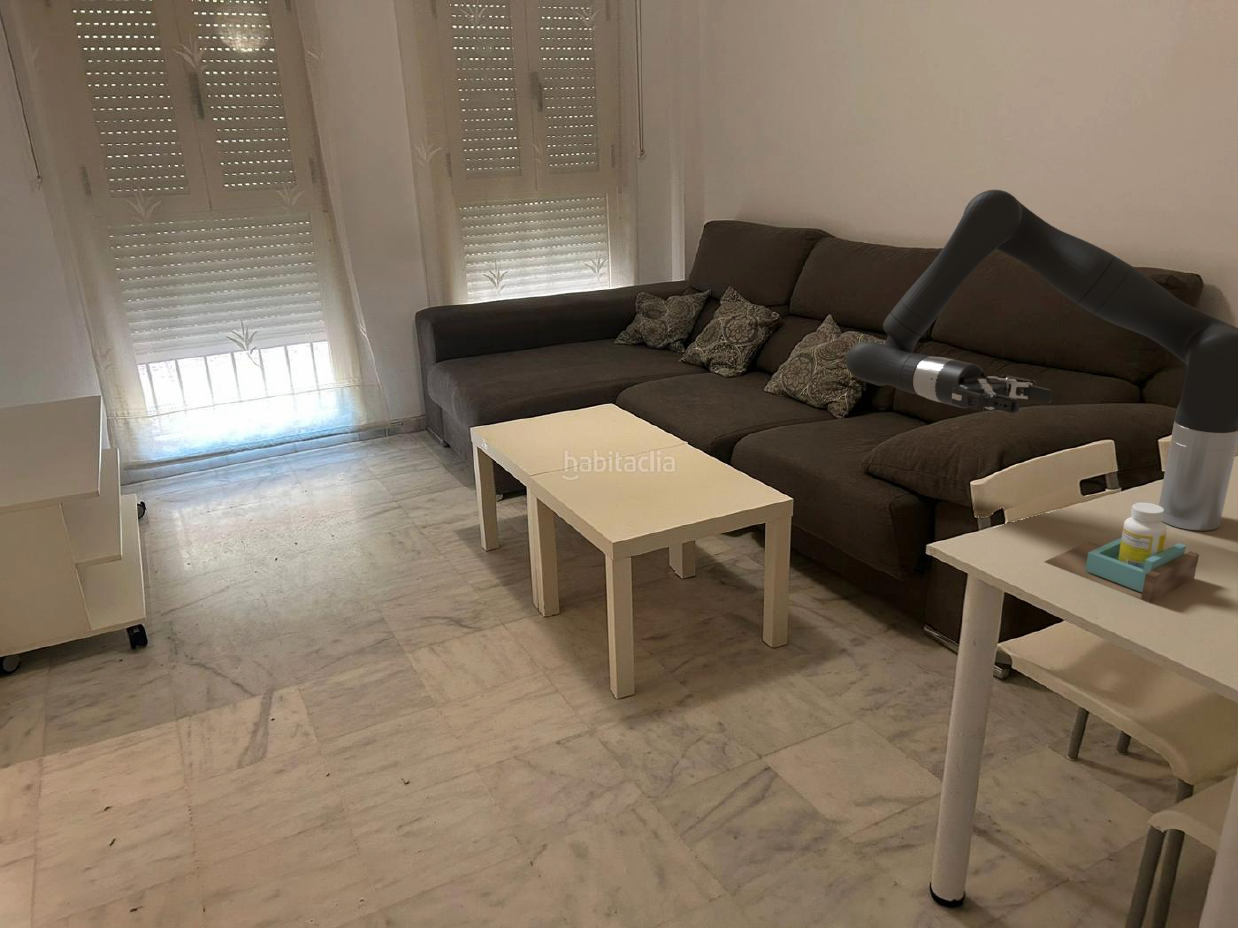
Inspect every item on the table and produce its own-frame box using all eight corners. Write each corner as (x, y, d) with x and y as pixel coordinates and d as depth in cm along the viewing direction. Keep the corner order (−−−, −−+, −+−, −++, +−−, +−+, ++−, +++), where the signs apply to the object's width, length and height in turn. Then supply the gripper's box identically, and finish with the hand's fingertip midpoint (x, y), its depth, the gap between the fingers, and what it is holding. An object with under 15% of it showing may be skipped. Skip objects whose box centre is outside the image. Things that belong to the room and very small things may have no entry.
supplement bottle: (1144, 560, 134) (1156, 499, 130) (1167, 576, 129) (1179, 514, 125) (1109, 561, 134) (1119, 501, 130) (1129, 578, 129) (1141, 516, 125)
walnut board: (1087, 550, 144) (1092, 518, 142) (1192, 587, 131) (1199, 553, 129) (1042, 570, 138) (1047, 537, 136) (1147, 612, 125) (1154, 576, 123)
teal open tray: (1118, 554, 138) (1124, 525, 136) (1179, 576, 131) (1185, 545, 129) (1085, 570, 133) (1090, 540, 132) (1146, 594, 126) (1152, 562, 124)
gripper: (921, 366, 147) (1009, 386, 134) (977, 353, 154) (1065, 371, 142) (918, 410, 150) (1003, 433, 137) (972, 395, 157) (1058, 416, 144)
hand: (1034, 401), depth 139 cm, fingers open, 8 cm apart
